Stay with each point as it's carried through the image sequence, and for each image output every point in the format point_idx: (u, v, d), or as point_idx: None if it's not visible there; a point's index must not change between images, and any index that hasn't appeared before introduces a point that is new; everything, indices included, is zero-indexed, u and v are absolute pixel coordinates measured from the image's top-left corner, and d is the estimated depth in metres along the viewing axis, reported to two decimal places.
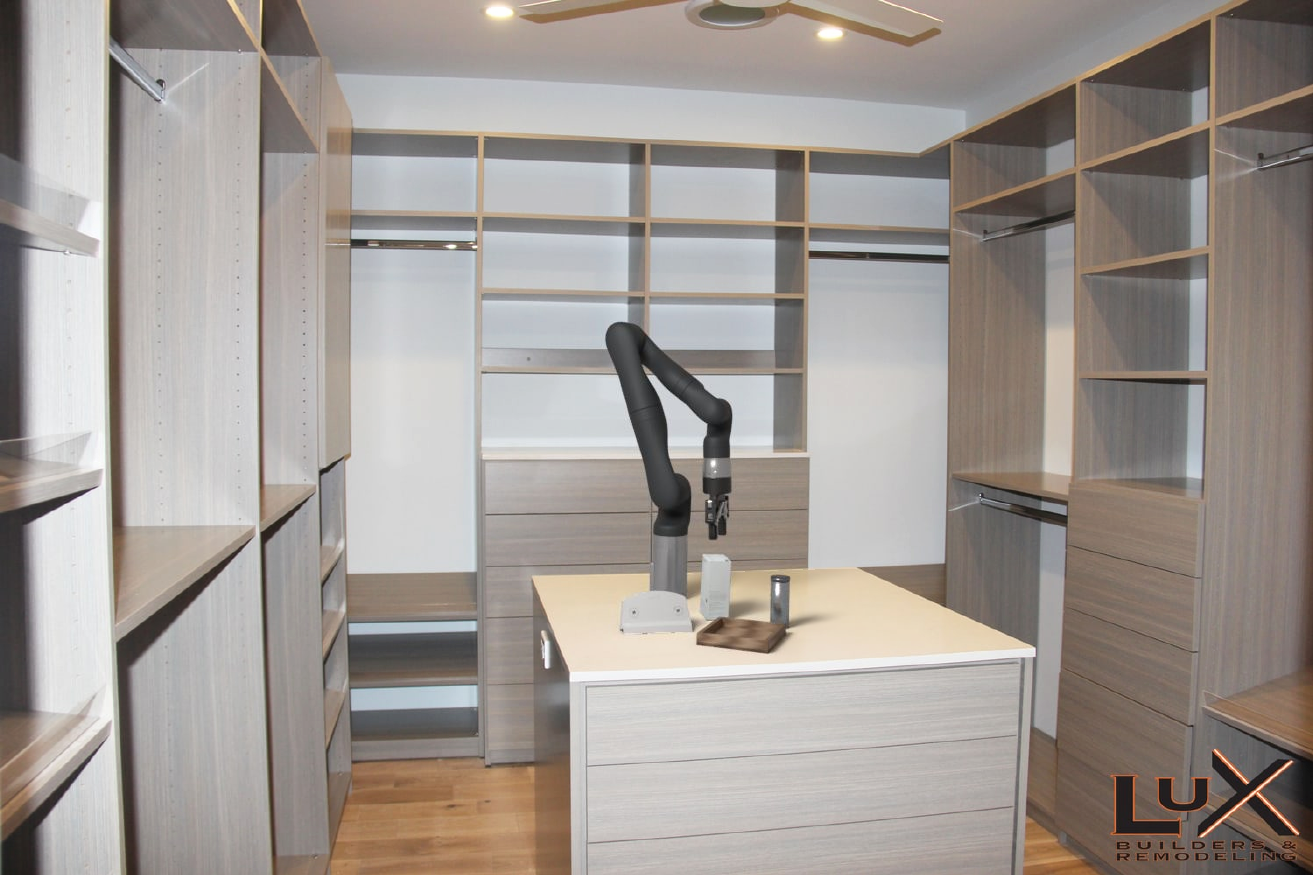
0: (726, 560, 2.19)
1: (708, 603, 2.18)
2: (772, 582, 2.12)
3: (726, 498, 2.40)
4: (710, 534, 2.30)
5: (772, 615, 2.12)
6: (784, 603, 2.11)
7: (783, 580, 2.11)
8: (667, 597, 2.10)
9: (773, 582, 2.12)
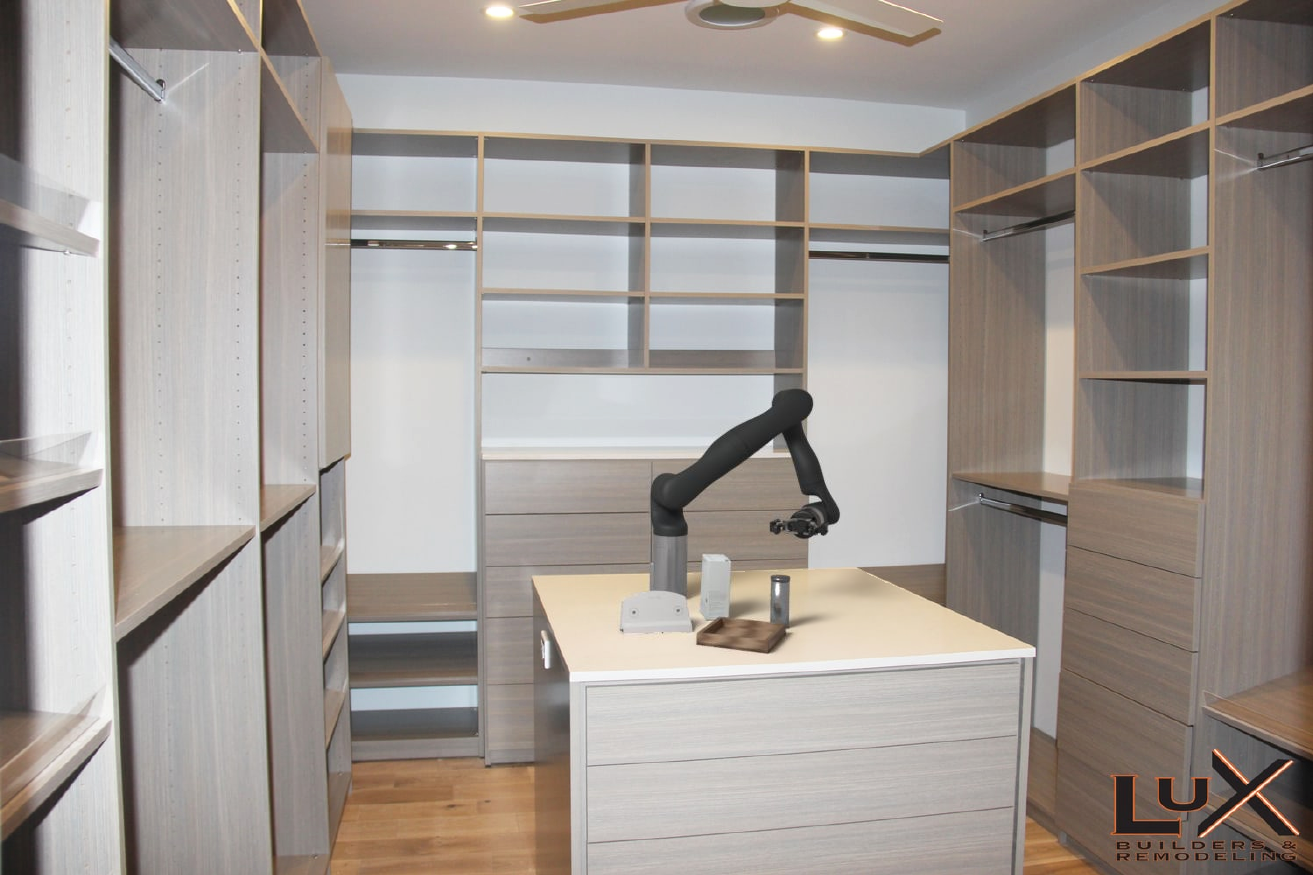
0: (726, 560, 2.19)
1: (708, 603, 2.18)
2: (772, 582, 2.12)
3: None
4: (814, 530, 2.22)
5: (772, 615, 2.12)
6: (784, 603, 2.11)
7: (783, 580, 2.11)
8: (667, 597, 2.10)
9: (773, 582, 2.12)
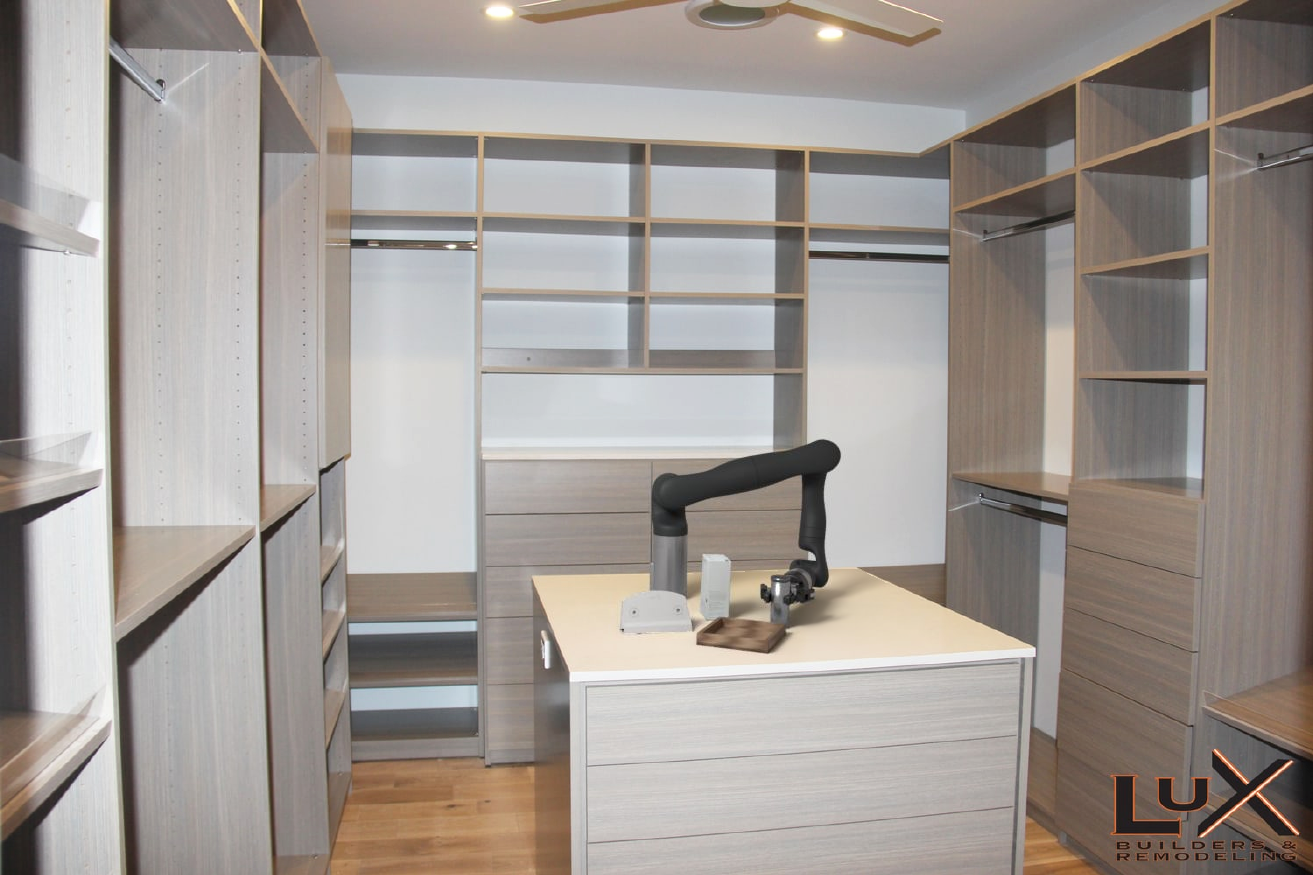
0: (726, 560, 2.19)
1: (708, 603, 2.18)
2: (772, 582, 2.12)
3: None
4: (793, 598, 2.11)
5: (772, 615, 2.12)
6: (785, 603, 2.11)
7: (783, 580, 2.11)
8: (667, 597, 2.11)
9: (773, 582, 2.11)
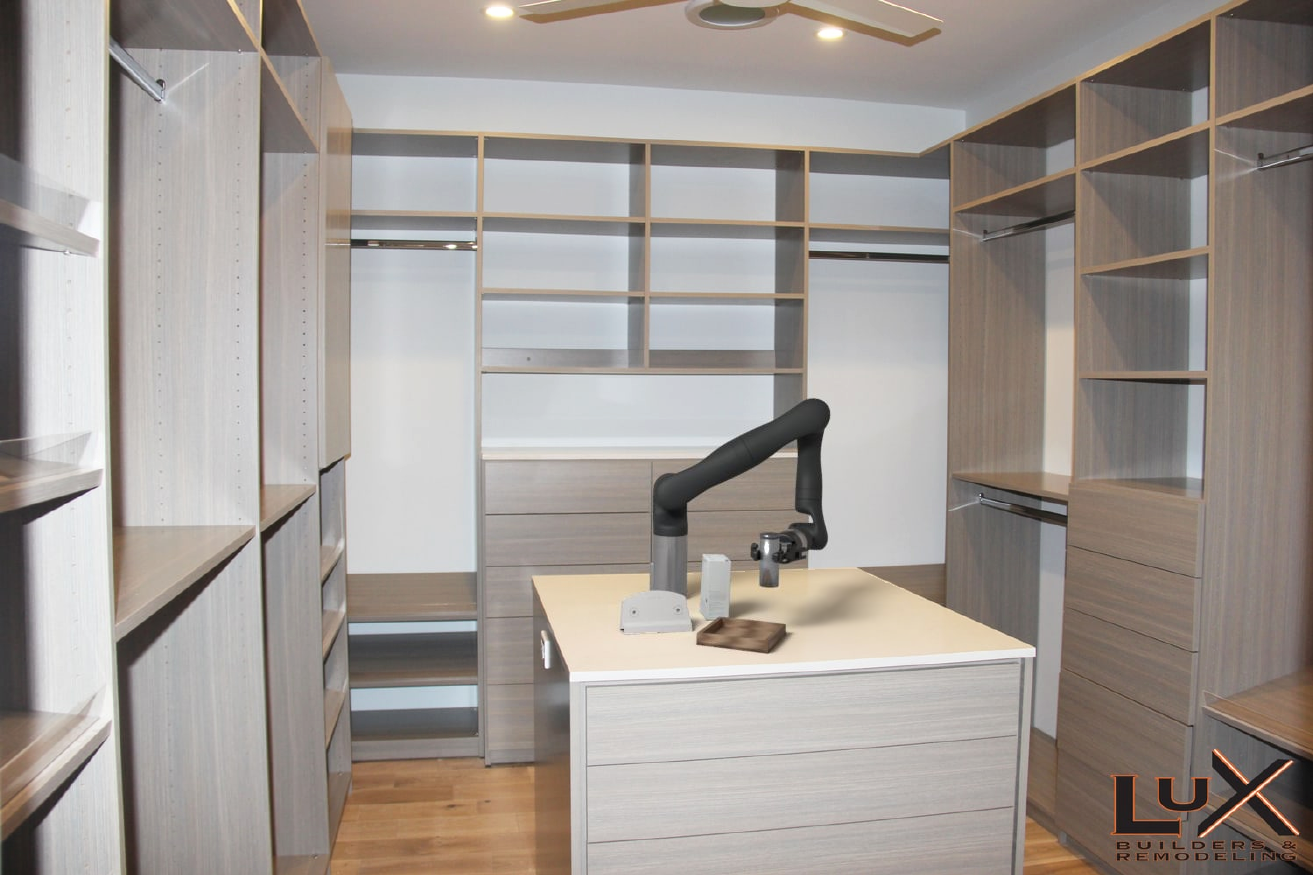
0: (726, 560, 2.19)
1: (708, 603, 2.18)
2: (761, 539, 2.06)
3: None
4: (782, 555, 2.04)
5: (761, 573, 2.06)
6: (773, 561, 2.05)
7: (772, 537, 2.05)
8: (667, 597, 2.11)
9: (762, 539, 2.06)
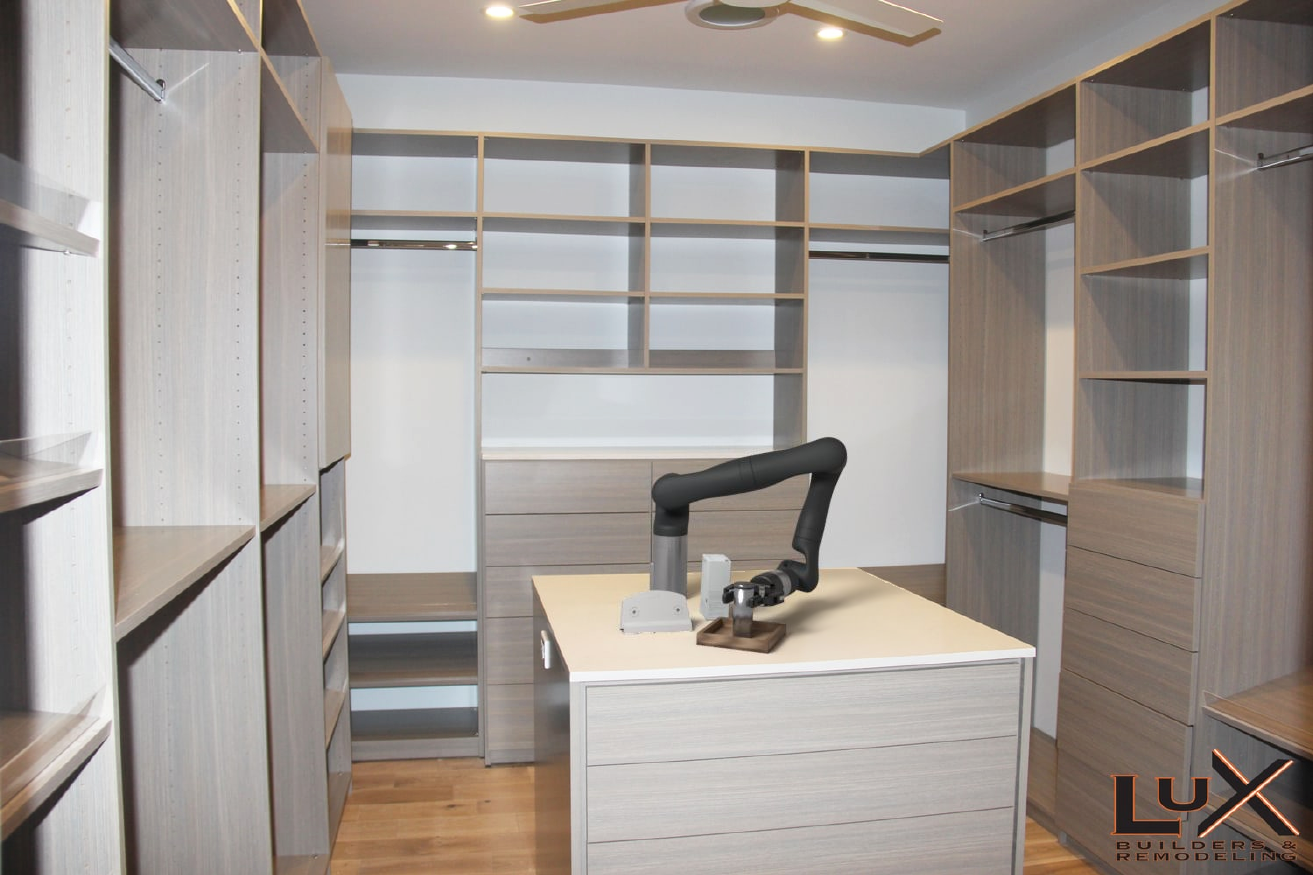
0: (726, 560, 2.19)
1: (708, 603, 2.18)
2: (734, 588, 2.01)
3: None
4: (758, 600, 1.99)
5: (734, 624, 2.01)
6: (746, 611, 2.00)
7: (745, 587, 2.00)
8: (667, 597, 2.11)
9: (735, 588, 2.01)
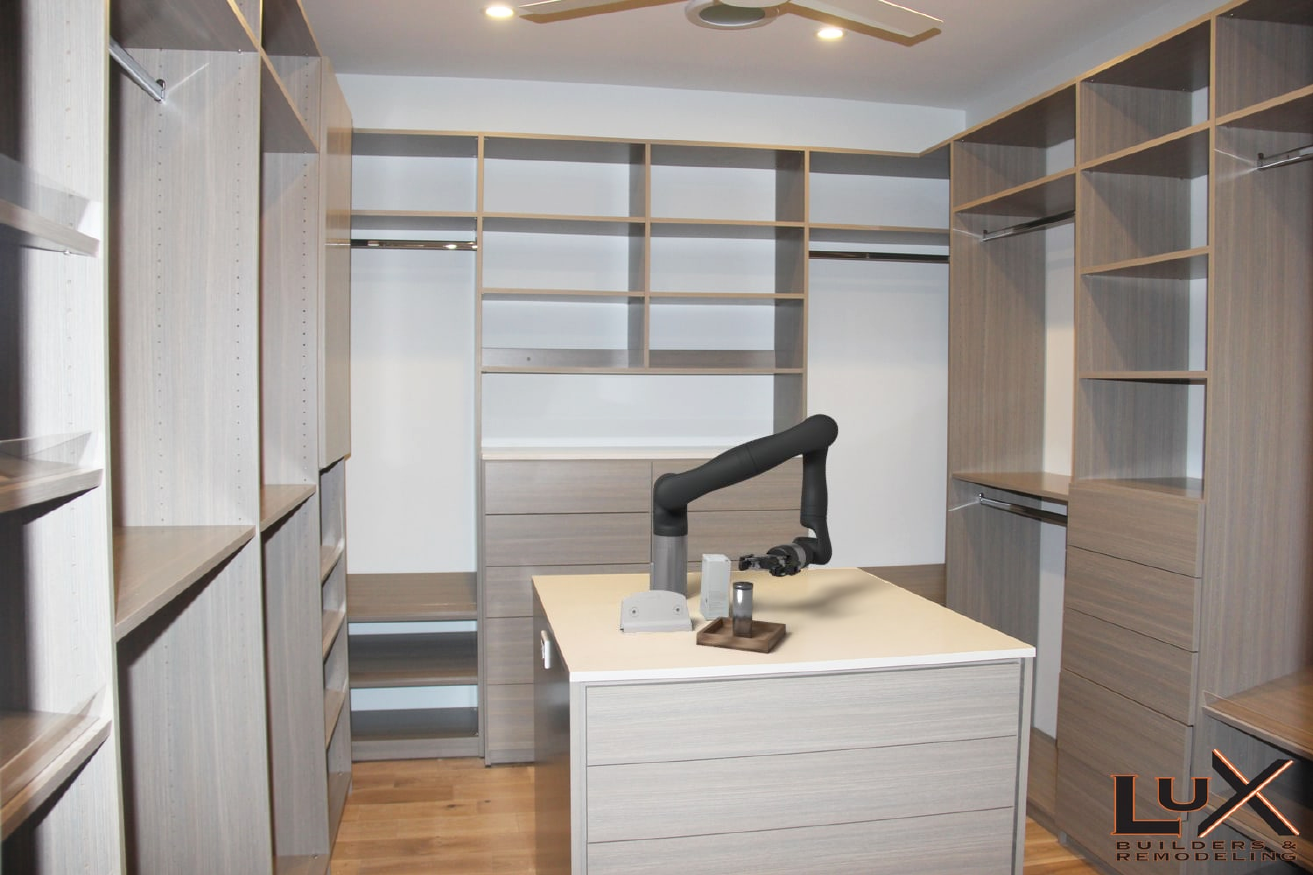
0: (726, 560, 2.19)
1: (708, 603, 2.18)
2: (733, 589, 2.01)
3: None
4: (779, 569, 2.10)
5: (733, 624, 2.01)
6: (745, 612, 2.00)
7: (743, 587, 1.99)
8: (667, 596, 2.11)
9: (734, 589, 2.01)
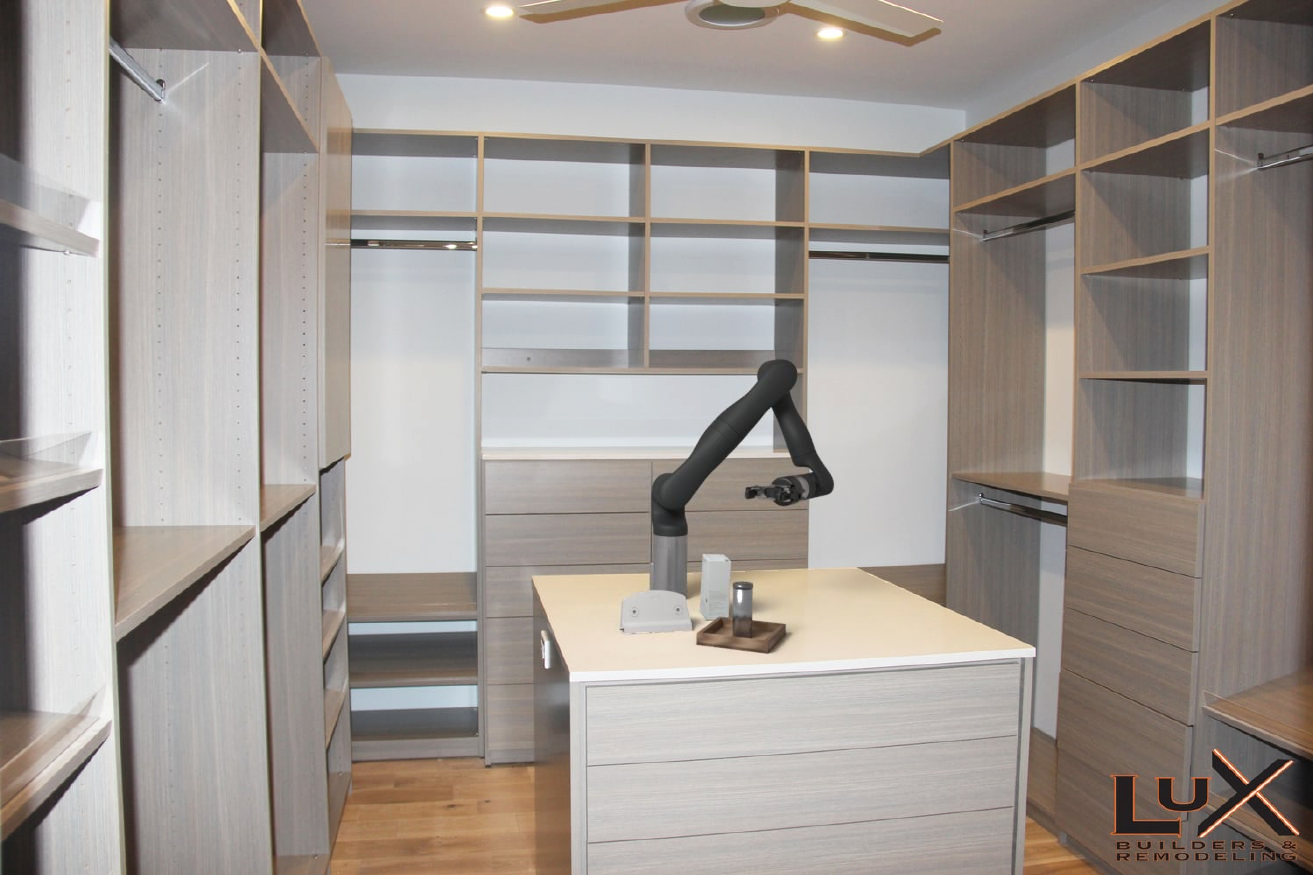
0: (726, 560, 2.19)
1: (708, 603, 2.18)
2: (733, 589, 2.01)
3: None
4: (784, 495, 2.18)
5: (733, 624, 2.01)
6: (745, 612, 2.00)
7: (743, 587, 2.00)
8: (667, 596, 2.11)
9: (734, 589, 2.01)
